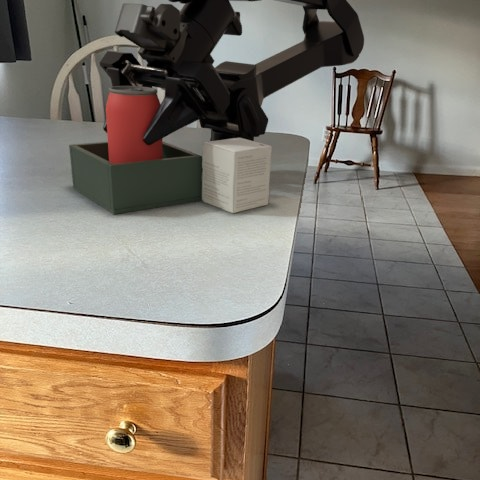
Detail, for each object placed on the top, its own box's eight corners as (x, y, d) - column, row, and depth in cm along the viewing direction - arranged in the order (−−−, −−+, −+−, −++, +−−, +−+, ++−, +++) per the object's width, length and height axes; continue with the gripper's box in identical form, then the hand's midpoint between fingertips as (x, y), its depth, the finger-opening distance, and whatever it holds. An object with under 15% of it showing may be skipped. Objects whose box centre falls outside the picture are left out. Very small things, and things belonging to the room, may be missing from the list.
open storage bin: (201, 200, 68) (202, 156, 66) (113, 214, 62) (110, 165, 59) (155, 178, 77) (154, 137, 74) (73, 188, 70) (68, 144, 67)
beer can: (171, 187, 71) (170, 88, 65) (149, 200, 65) (146, 93, 60) (126, 181, 72) (121, 84, 67) (100, 193, 67) (93, 88, 61)
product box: (237, 193, 72) (240, 136, 68) (269, 205, 68) (274, 145, 64) (200, 201, 68) (201, 140, 64) (232, 214, 64) (235, 150, 61)
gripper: (107, -24, 66) (34, 78, 64) (215, -25, 55) (131, 98, 53) (159, 49, 75) (97, 140, 73) (261, 60, 64) (191, 168, 62)
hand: (125, 137), depth 65 cm, fingers open, 7 cm apart
